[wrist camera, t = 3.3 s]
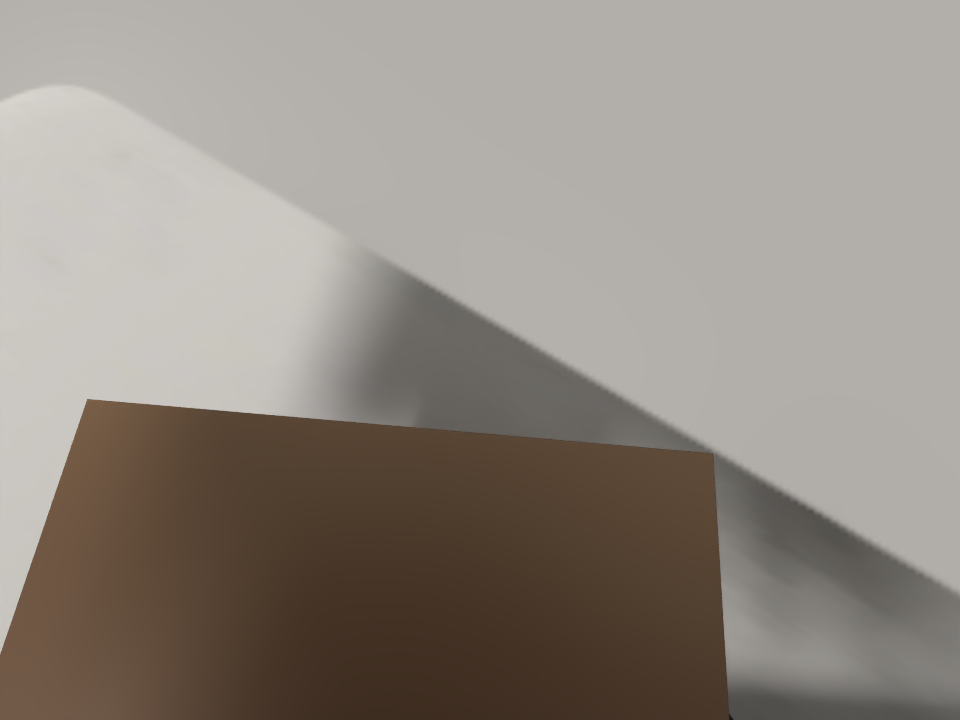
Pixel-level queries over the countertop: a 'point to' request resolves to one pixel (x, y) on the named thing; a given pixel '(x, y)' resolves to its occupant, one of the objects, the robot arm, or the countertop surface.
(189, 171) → the countertop surface
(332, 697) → the walnut block
